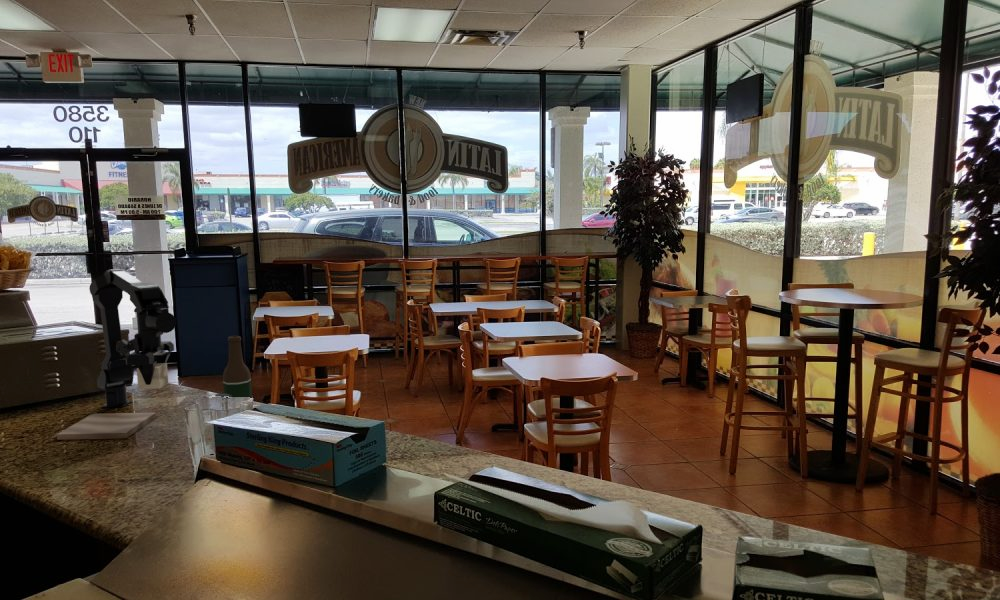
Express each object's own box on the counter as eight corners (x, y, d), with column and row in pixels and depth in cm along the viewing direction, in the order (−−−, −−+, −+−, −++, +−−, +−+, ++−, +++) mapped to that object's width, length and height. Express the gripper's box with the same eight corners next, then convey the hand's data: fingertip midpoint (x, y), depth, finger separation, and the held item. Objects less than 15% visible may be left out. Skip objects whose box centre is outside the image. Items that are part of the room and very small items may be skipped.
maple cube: (147, 383, 200) (145, 363, 199) (168, 382, 201) (166, 363, 200) (138, 388, 194) (136, 368, 193) (159, 388, 195) (158, 368, 194)
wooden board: (93, 418, 199) (92, 413, 199) (156, 417, 200) (155, 412, 200) (57, 439, 182) (56, 434, 181) (126, 438, 183) (126, 432, 182)
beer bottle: (219, 418, 200) (214, 338, 196) (238, 410, 207) (233, 333, 204) (239, 421, 197) (235, 339, 193) (258, 413, 204) (254, 335, 201)
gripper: (134, 323, 203) (138, 374, 206) (103, 335, 185) (108, 391, 187) (172, 322, 204) (176, 373, 207) (146, 335, 186) (150, 390, 188)
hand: (152, 381), depth 197 cm, fingers closed on maple cube, 6 cm apart
